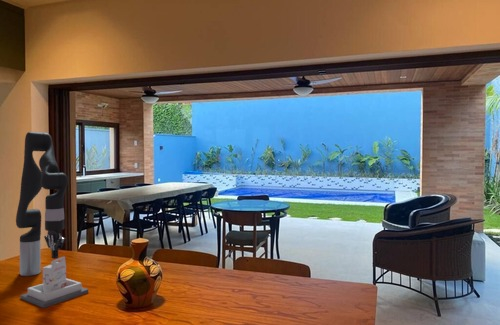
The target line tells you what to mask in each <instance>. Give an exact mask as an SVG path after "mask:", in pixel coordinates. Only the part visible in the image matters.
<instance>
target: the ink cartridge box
mask: <svg viewBox="0 0 500 325" xmlns="http://www.w3.org/2000/svg"><path fill="white" fill-rule="evenodd" d="M66 278H67V262H66V256H61V257H58V258H56V259H53V260H51V264H49V265H46V266H43V267H42V284H43V292H45V293H47V292H51V291H54V290H57V289H60V288H64V287H66Z"/></svg>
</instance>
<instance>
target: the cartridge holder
mask: <svg viewBox="0 0 500 325" xmlns="http://www.w3.org/2000/svg"><path fill="white" fill-rule="evenodd" d="M85 294H89V289H88V288H86V287H83V285H82V282H80V281H76V280H73V279H70V278H67V277H66V287H64V288H60V289H57V290H54V291H51V292H47V293H45V292H43V283H41V284H40V283H39V284H37V285H34V286H30V287H27V293H23V294H20V299H21V300H22V301H25V302H26V303H27V302H28V303H30V304H33V305H35V306H37V307H40V308H43V309H44V308H47V307H50V306H55V305H57V304H59V303H62V302H65V301H68V300H71V299H75V298H77V297H80V296H82V295H85Z"/></svg>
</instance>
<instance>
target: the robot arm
mask: <svg viewBox="0 0 500 325" xmlns="http://www.w3.org/2000/svg"><path fill="white" fill-rule="evenodd" d="M53 143H54V142H53V139H52V135H50V133H48V132H40V131H39V132H37V131H28V132H27V133H26V135H25V137H24V152H23V154H24V157H23V167H22V173H21V181H20V192H19V193H20V194H19V200H18V205H17V211H16V216H15V225H16V227H17V228H19V229H29V228H31V229H30V230H28V231H27V232H25V233H23V234H21V235H20V236H19V276H22V277H29V276H31V277H32V276H36V275H39V274H40V273H41V272H42V271H41V270H42V268H41V258H42V257H41V236H42V232H41V231H42V212H41V211H40V209H38V208H32V209H30V208H29V209H28V207H29V205H30V203H32V201H33V200H34V199H35V198H36V196H38V194H39V193H40V192H41V190H42V188H43V190H56V192H55V193H52V194H48V195H46V196H45V203H44V204H45V205H44V206H45V210H44V230H45V231H47V234H46V235H44V241H45V243H46V245H47V247H48V249H50V250H51V259H53V260H56V259H58V258H59V250H60V249H62V248H63V247H64V244H65V242H66V238H65V237H63V232H62V231H63V230H64V229H65V208H64V200H65V194H66V189H67V186H68V182H69V178H68V175H67V174H66V173H64V172H60V168H59V165H58V162H57V160H56V157H55V150H54V144H53ZM34 152H44V153H43V154H42V155H41V157H40V158H39V159H38V160H39V161H38V164H39V166H38V165H37V162H36V161H35V159H34V155H33V154H34Z"/></svg>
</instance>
